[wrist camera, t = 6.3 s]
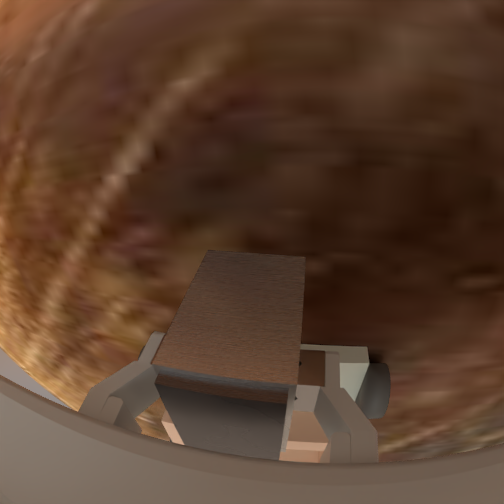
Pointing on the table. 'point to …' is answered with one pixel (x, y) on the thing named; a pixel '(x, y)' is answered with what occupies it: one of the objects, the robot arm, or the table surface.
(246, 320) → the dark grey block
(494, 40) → the table surface
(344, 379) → the chassis
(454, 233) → the table surface
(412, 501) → the robot arm
